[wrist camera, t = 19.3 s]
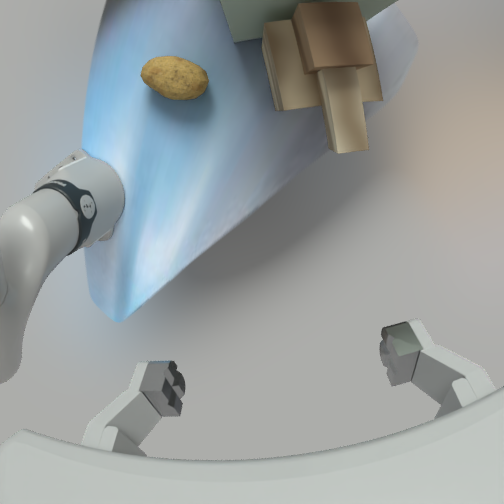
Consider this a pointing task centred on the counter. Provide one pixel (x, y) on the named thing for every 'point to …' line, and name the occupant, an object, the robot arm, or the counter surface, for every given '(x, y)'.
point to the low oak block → (292, 75)
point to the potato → (175, 77)
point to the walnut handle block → (336, 67)
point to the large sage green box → (278, 13)
